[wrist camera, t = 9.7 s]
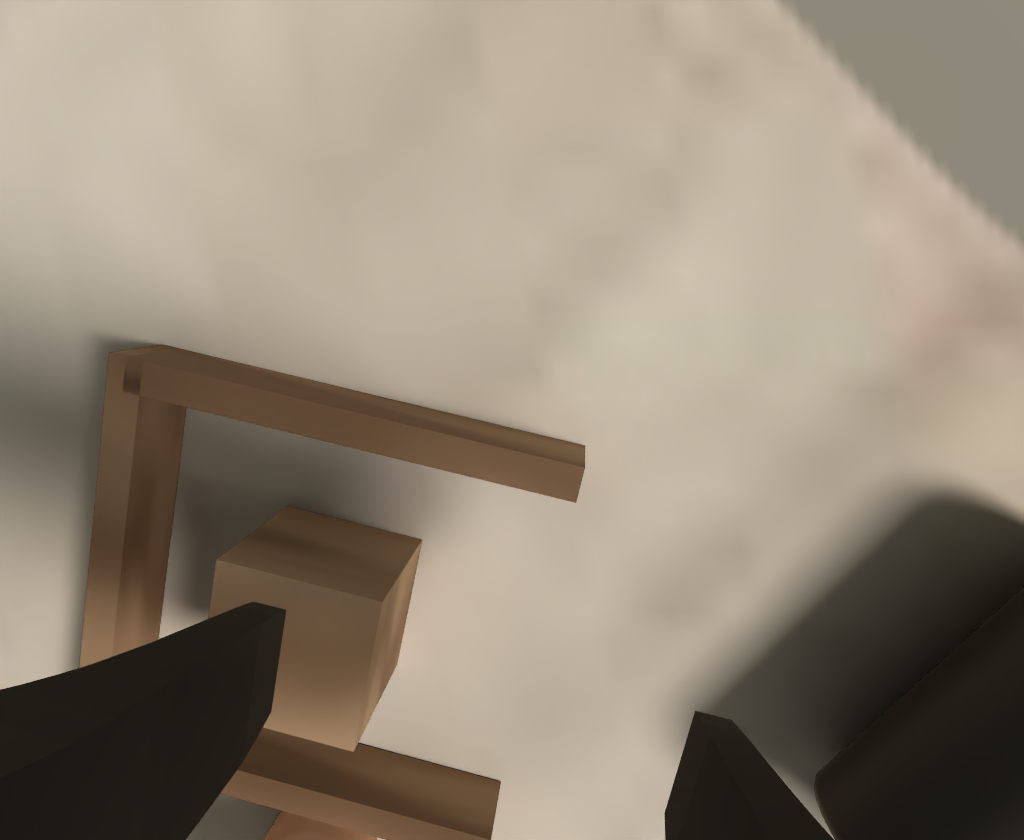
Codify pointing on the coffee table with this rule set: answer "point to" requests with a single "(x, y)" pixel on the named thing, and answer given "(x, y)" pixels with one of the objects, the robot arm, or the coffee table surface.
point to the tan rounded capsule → (310, 830)
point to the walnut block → (324, 616)
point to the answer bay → (146, 540)
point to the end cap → (941, 750)
